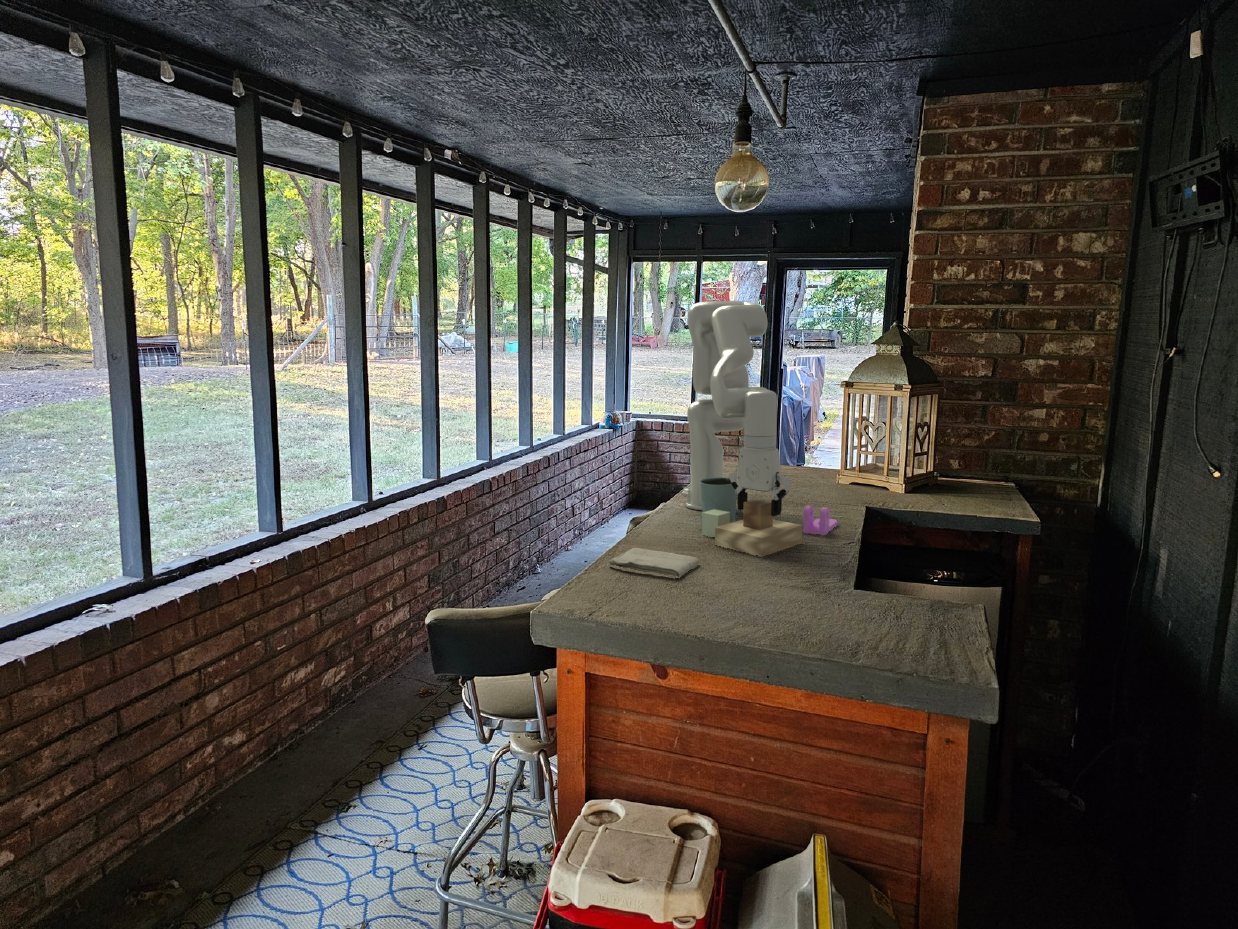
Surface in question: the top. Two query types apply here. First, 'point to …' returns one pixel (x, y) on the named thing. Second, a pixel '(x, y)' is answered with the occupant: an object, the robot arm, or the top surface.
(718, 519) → the sage cube
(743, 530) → the birch block
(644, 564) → the washcloth
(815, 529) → the bracket
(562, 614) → the top surface
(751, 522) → the walnut cube
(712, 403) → the robot arm
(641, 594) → the top surface
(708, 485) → the teal cylinder
